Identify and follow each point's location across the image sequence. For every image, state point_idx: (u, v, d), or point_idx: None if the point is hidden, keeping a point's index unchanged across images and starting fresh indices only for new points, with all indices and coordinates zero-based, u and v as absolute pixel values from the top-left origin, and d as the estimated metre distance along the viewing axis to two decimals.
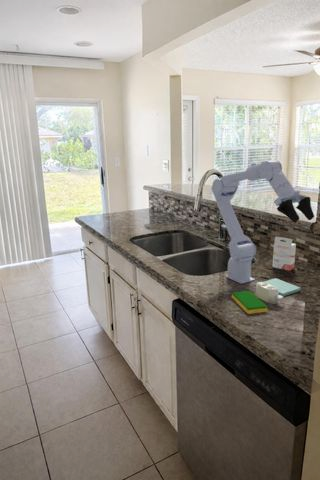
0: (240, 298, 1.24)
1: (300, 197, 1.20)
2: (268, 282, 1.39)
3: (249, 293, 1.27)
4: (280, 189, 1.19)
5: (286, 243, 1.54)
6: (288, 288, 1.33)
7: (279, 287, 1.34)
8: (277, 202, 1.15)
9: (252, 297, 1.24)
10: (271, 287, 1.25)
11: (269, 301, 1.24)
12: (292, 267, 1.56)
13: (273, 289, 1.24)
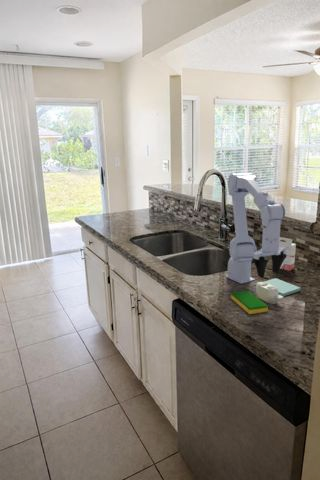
0: (240, 298, 1.23)
1: None
2: (268, 282, 1.39)
3: (248, 293, 1.28)
4: (266, 242, 1.20)
5: (286, 243, 1.54)
6: (288, 288, 1.33)
7: (279, 287, 1.34)
8: (255, 257, 1.19)
9: (252, 297, 1.24)
10: (271, 287, 1.25)
11: (269, 301, 1.24)
12: (292, 267, 1.56)
13: (273, 289, 1.24)
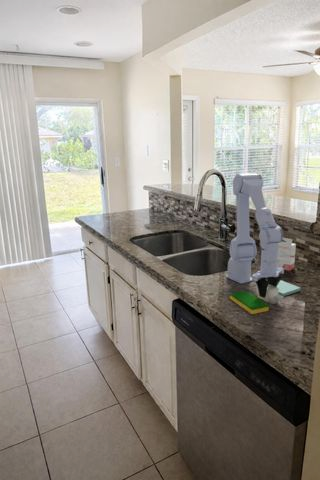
0: (240, 299, 1.23)
1: None
2: None
3: (246, 293, 1.28)
4: (265, 264, 1.22)
5: (286, 243, 1.54)
6: (288, 288, 1.33)
7: (279, 287, 1.34)
8: (254, 279, 1.21)
9: (251, 297, 1.25)
10: (271, 287, 1.25)
11: (269, 301, 1.24)
12: (292, 267, 1.56)
13: (273, 289, 1.23)
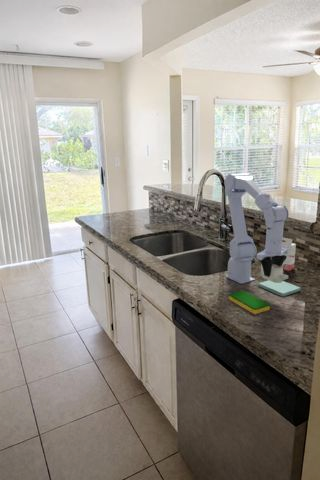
0: (240, 299, 1.23)
1: None
2: (268, 282, 1.39)
3: (245, 293, 1.28)
4: (270, 243, 1.23)
5: (286, 243, 1.54)
6: (288, 288, 1.33)
7: (279, 287, 1.34)
8: (258, 257, 1.22)
9: (251, 297, 1.25)
10: (276, 267, 1.26)
11: (274, 280, 1.25)
12: (292, 267, 1.56)
13: (278, 268, 1.24)
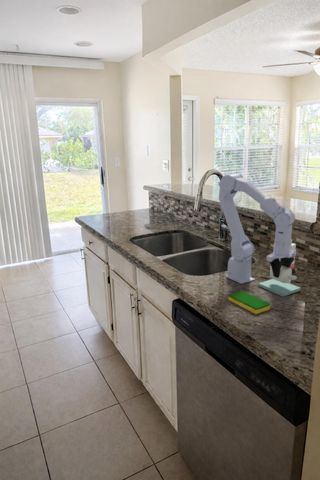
0: (241, 299, 1.23)
1: None
2: (268, 282, 1.39)
3: (244, 293, 1.28)
4: (279, 246, 1.30)
5: None
6: (288, 288, 1.33)
7: (279, 287, 1.34)
8: (268, 259, 1.30)
9: (250, 296, 1.25)
10: (284, 268, 1.33)
11: (283, 281, 1.32)
12: (292, 267, 1.56)
13: (287, 269, 1.31)
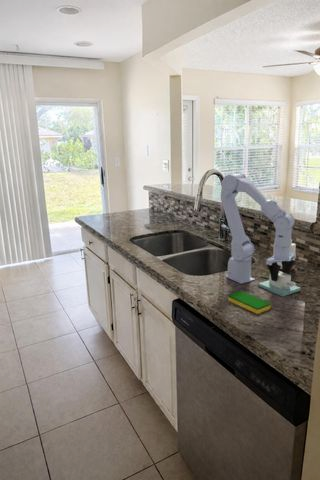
0: (241, 299, 1.23)
1: None
2: (268, 282, 1.39)
3: (244, 293, 1.28)
4: (278, 249, 1.30)
5: None
6: None
7: None
8: (268, 263, 1.30)
9: (250, 296, 1.25)
10: (284, 274, 1.34)
11: (282, 287, 1.33)
12: (292, 267, 1.56)
13: (286, 276, 1.32)
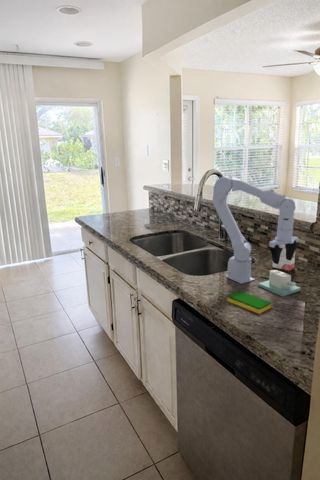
0: (241, 300, 1.22)
1: None
2: (268, 282, 1.39)
3: (242, 293, 1.28)
4: (281, 232, 1.34)
5: None
6: None
7: None
8: (271, 245, 1.33)
9: (249, 296, 1.25)
10: (284, 274, 1.34)
11: (282, 287, 1.33)
12: (292, 267, 1.56)
13: (286, 276, 1.32)
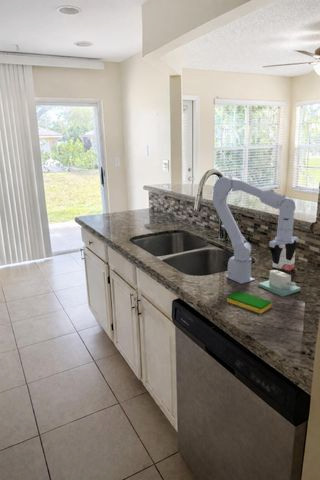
0: (242, 300, 1.22)
1: None
2: (268, 282, 1.39)
3: (242, 293, 1.27)
4: (281, 232, 1.34)
5: None
6: None
7: None
8: (271, 245, 1.33)
9: (249, 296, 1.25)
10: (284, 274, 1.34)
11: (282, 287, 1.33)
12: (292, 267, 1.56)
13: (286, 276, 1.32)
